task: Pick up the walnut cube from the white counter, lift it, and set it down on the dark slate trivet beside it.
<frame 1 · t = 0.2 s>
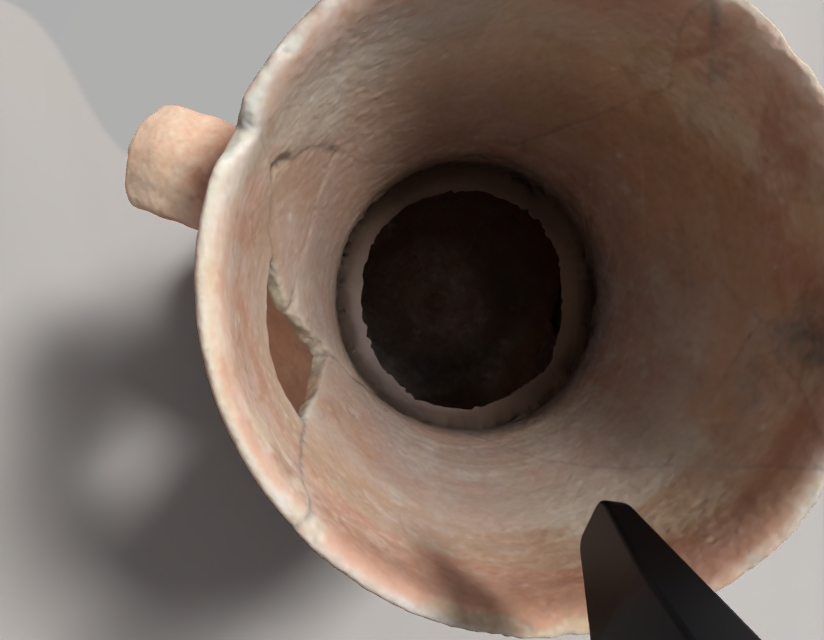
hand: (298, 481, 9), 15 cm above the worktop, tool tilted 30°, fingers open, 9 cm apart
ceramic jug: (446, 310, 25), on the worktop
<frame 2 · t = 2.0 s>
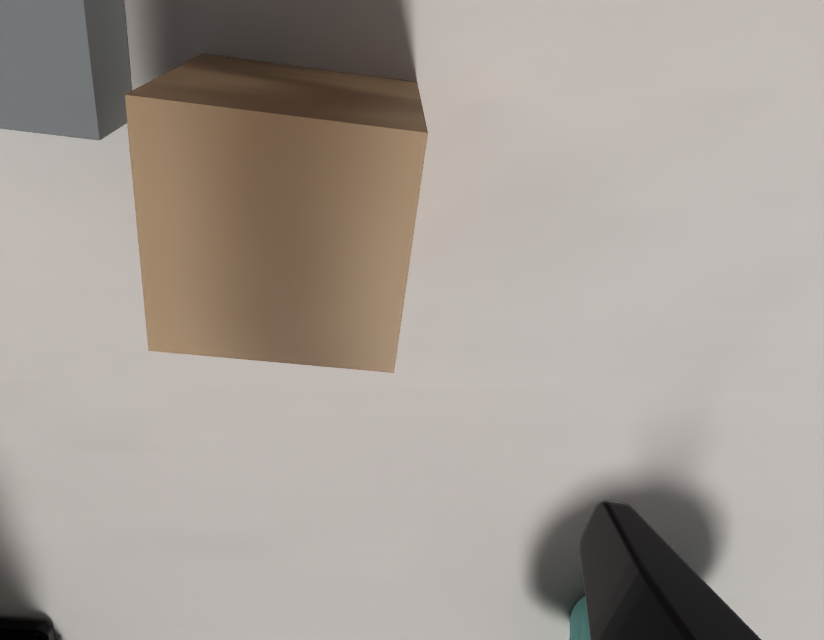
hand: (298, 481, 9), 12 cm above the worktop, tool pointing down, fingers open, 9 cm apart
cupcake: (617, 610, 31), on the worktop
cube: (306, 171, 19), on the worktop
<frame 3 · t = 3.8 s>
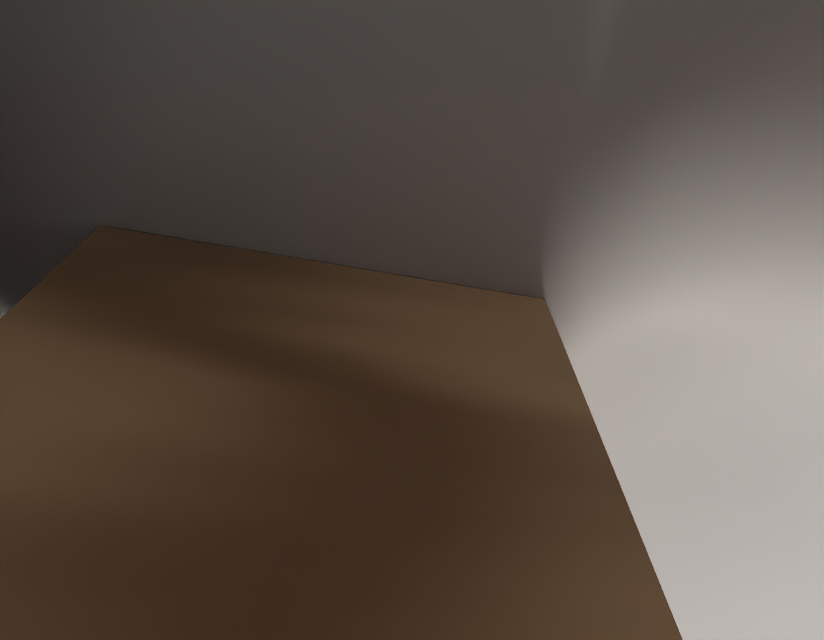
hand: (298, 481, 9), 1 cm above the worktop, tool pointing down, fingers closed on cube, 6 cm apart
cube: (307, 431, 10), on the worktop, touching gripper
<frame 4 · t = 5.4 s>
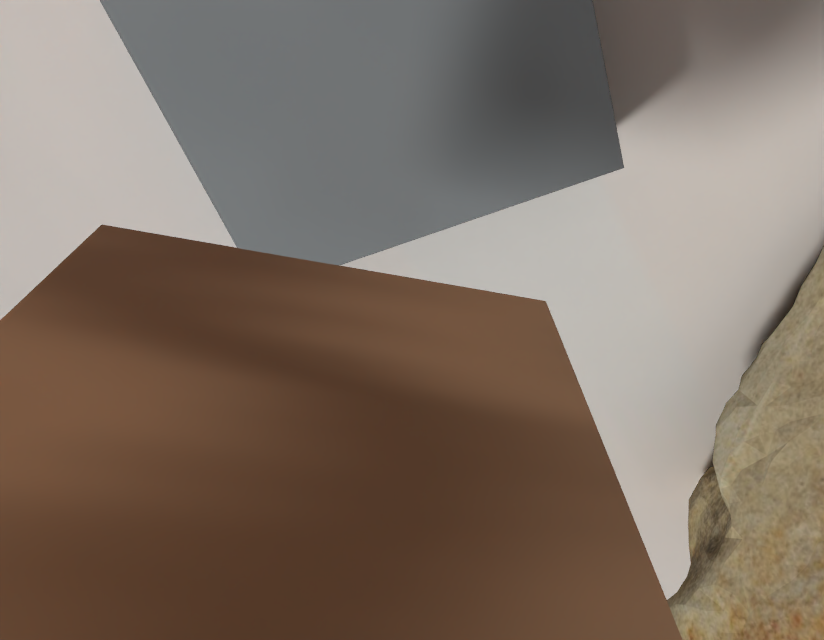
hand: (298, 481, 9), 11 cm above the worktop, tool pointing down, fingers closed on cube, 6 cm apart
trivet: (366, 24, 16), on the worktop
cube: (307, 432, 10), point 10 cm above the worktop, touching gripper
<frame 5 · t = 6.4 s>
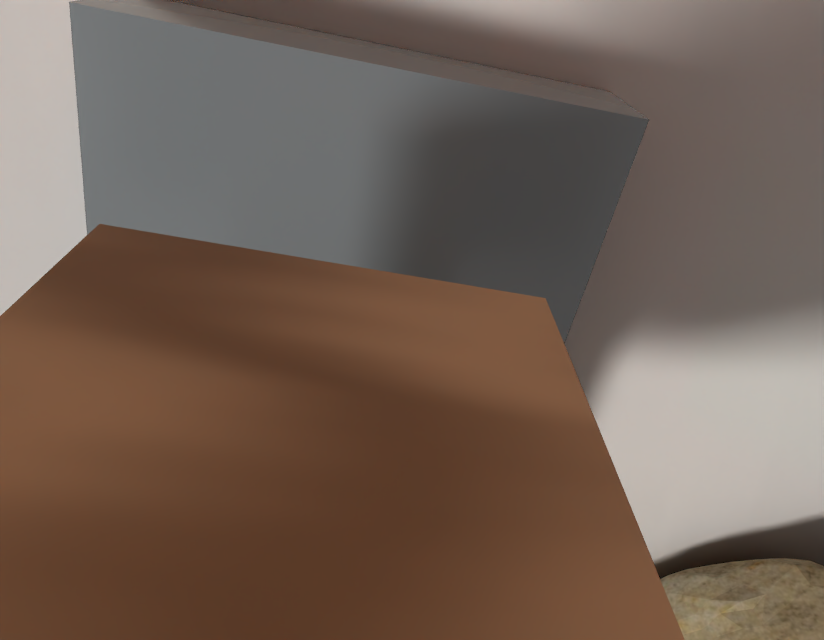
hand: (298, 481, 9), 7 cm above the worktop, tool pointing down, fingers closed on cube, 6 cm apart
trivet: (345, 260, 15), on the worktop
cube: (307, 431, 10), point 6 cm above the worktop, touching gripper
when the fingers open (5 cm above the worktop, at t = 7.3 s): cube drops 1 cm, resting on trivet.
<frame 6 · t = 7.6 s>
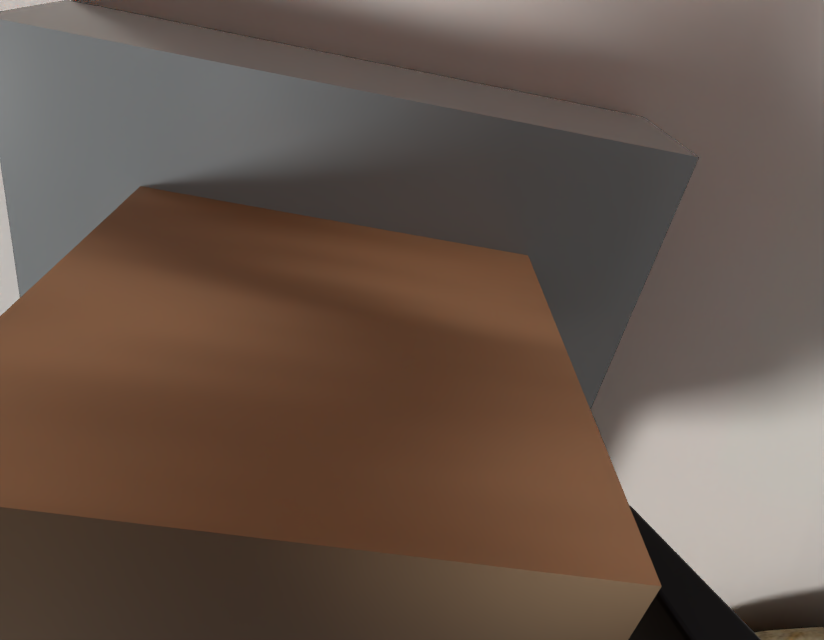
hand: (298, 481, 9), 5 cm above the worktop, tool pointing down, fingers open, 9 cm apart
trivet: (333, 308, 13), on the worktop
cube: (317, 377, 11), point 2 cm above the worktop, touching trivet
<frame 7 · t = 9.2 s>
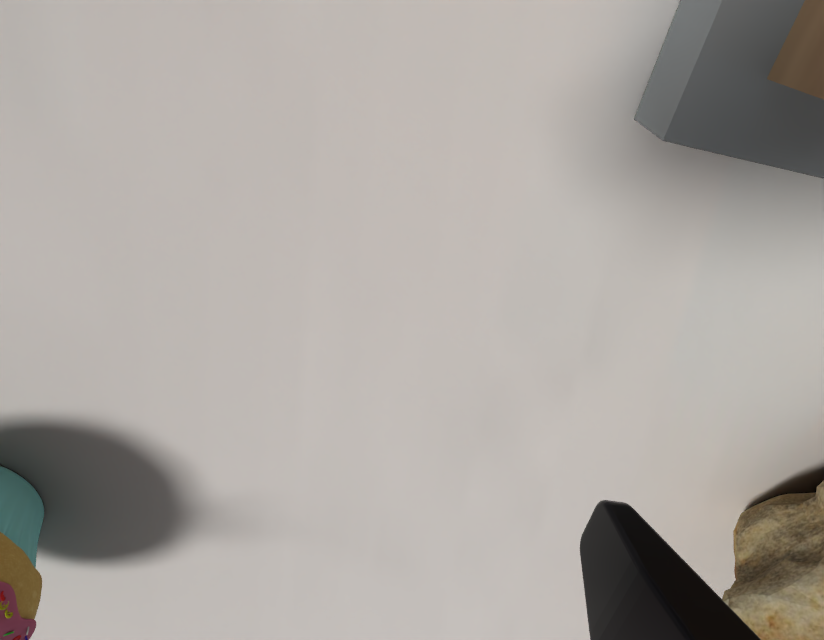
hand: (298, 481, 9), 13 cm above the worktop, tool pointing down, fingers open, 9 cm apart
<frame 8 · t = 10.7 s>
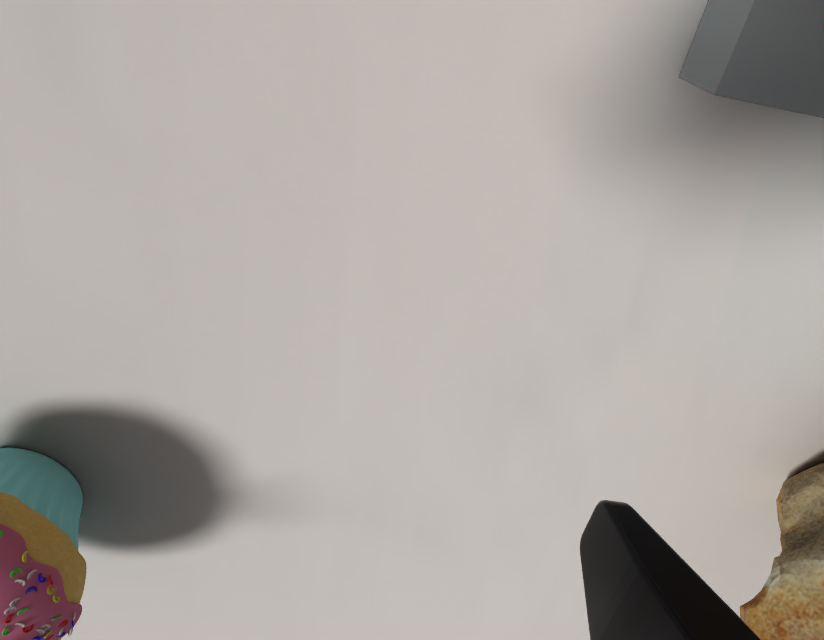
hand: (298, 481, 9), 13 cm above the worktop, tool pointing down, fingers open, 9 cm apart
cupcake: (25, 484, 27), on the worktop
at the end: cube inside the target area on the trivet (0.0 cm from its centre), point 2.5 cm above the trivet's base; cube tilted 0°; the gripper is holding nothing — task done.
